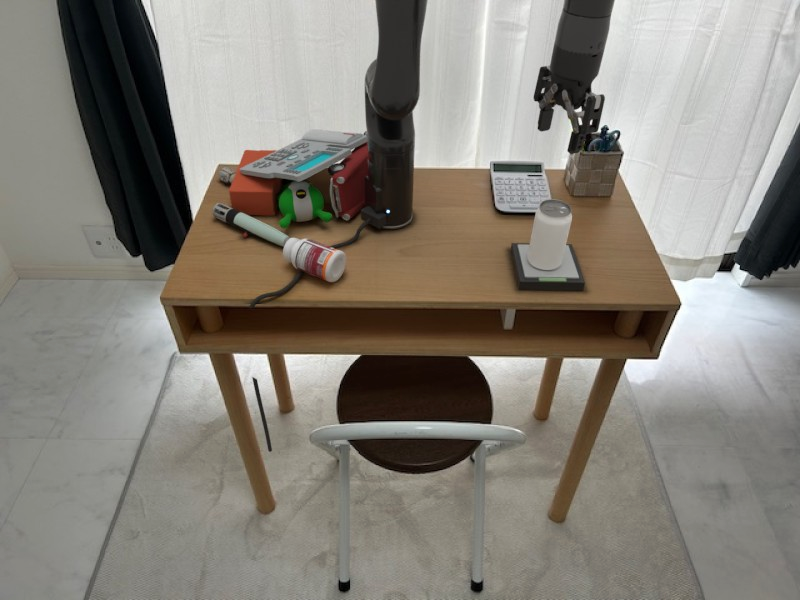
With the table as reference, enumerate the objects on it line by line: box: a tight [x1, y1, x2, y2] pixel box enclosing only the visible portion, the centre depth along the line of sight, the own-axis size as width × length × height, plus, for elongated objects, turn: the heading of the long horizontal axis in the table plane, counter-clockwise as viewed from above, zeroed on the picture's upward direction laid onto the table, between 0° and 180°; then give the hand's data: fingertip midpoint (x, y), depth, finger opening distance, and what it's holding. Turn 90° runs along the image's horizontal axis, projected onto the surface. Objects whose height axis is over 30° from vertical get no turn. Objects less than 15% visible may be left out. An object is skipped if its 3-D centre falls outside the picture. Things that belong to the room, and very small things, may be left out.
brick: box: [228, 149, 283, 217], centre depth 136 cm, size 18×9×6 cm, turn 0°
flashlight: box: [211, 202, 291, 248], centre depth 126 cm, size 3×4×20 cm
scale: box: [509, 242, 586, 292], centre depth 118 cm, size 12×12×2 cm
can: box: [527, 198, 573, 271], centre depth 113 cm, size 6×6×12 cm
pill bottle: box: [282, 237, 347, 283], centre depth 116 cm, size 6×6×11 cm
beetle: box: [218, 167, 237, 187], centre depth 140 cm, size 4×7×3 cm, turn 70°
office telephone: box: [240, 129, 367, 182], centre depth 132 cm, size 23×3×20 cm
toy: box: [277, 180, 333, 229], centre depth 130 cm, size 11×8×15 cm
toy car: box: [327, 130, 368, 221], centre depth 135 cm, size 11×25×10 cm
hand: (558, 141), depth 104 cm, fingers open, 8 cm apart
